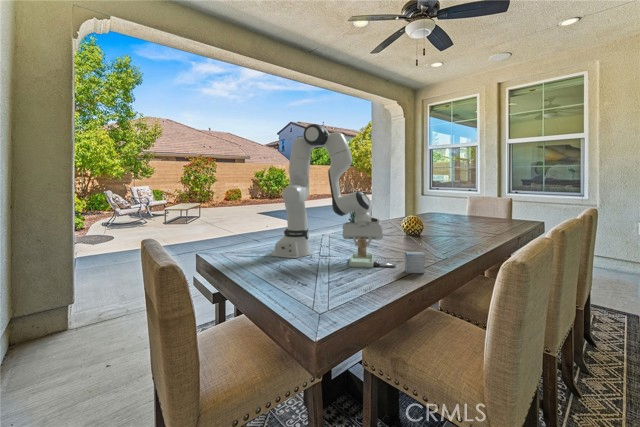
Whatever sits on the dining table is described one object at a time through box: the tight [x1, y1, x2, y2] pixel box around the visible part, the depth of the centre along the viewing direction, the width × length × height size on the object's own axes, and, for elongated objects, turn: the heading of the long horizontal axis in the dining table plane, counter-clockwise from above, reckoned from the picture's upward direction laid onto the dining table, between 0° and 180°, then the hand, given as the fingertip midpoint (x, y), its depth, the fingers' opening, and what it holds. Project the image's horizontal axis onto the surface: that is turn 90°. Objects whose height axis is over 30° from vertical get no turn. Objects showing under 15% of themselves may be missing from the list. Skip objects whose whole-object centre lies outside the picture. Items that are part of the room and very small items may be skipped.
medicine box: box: [404, 251, 426, 274], centre depth 136 cm, size 8×4×9 cm, turn 84°
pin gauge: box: [373, 261, 397, 268], centre depth 145 cm, size 10×2×2 cm, turn 79°
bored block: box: [357, 238, 367, 257], centre depth 151 cm, size 4×4×9 cm
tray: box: [348, 253, 375, 269], centre depth 151 cm, size 11×15×2 cm
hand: (362, 245), depth 151 cm, fingers closed on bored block, 4 cm apart
